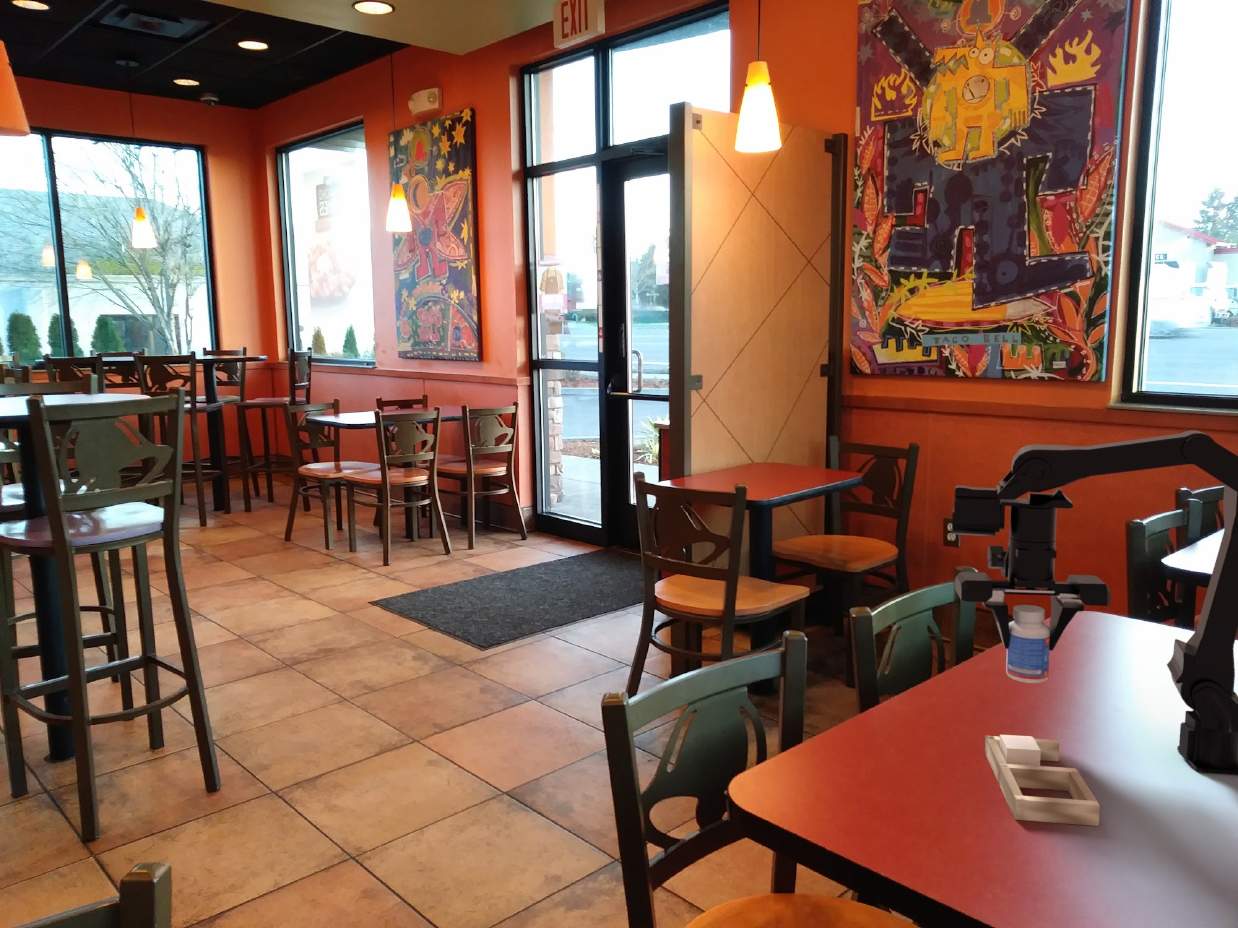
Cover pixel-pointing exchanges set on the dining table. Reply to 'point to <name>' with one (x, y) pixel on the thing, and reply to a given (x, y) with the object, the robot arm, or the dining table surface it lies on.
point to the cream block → (1020, 750)
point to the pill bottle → (1028, 645)
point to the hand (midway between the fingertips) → (1027, 648)
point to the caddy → (1043, 787)
